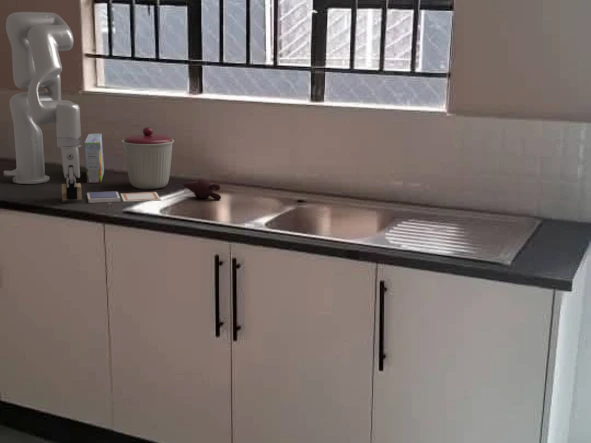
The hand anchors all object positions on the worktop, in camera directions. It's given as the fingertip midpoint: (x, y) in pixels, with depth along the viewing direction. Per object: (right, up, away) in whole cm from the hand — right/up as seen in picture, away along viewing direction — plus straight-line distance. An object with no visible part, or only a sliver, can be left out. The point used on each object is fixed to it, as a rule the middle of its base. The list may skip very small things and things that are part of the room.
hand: (71, 196), depth 269 cm
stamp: (0, -1, 0) cm, 1 cm away
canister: (+21, +4, +24) cm, 32 cm away
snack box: (-2, +8, +38) cm, 39 cm away
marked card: (+21, 0, +7) cm, 22 cm away
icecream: (+41, -1, +7) cm, 42 cm away
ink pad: (+10, -1, +3) cm, 10 cm away
